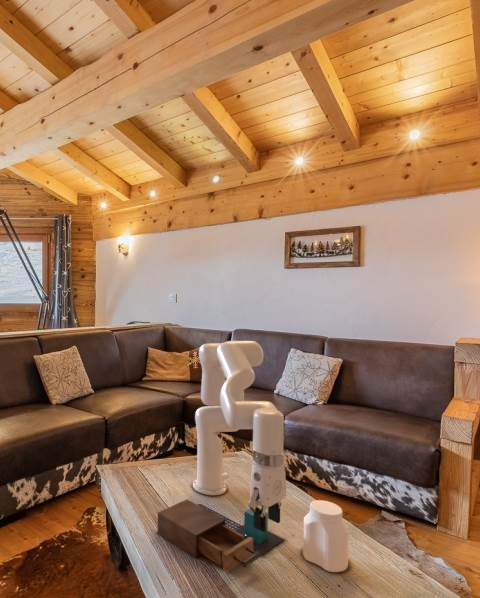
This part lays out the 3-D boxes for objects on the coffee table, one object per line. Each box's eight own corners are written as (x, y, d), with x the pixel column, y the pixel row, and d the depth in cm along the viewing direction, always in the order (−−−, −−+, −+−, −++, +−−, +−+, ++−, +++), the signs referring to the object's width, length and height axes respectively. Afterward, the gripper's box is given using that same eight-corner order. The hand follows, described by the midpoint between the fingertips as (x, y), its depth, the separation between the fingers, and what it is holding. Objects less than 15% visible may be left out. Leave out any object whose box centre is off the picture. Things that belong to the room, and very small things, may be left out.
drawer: (266, 562, 118) (266, 545, 118) (239, 581, 111) (240, 563, 110) (212, 531, 133) (212, 516, 133) (185, 546, 125) (186, 530, 125)
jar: (353, 562, 120) (354, 510, 119) (337, 576, 114) (338, 521, 113) (313, 543, 129) (314, 494, 128) (297, 555, 123) (297, 504, 122)
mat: (249, 523, 139) (249, 522, 139) (284, 540, 130) (284, 539, 130) (227, 536, 132) (227, 535, 132) (261, 555, 123) (261, 554, 123)
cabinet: (225, 540, 130) (225, 519, 130) (195, 557, 122) (195, 535, 121) (186, 518, 142) (186, 499, 142) (157, 533, 134) (157, 512, 134)
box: (253, 530, 134) (253, 506, 134) (267, 538, 130) (268, 512, 130) (244, 536, 131) (244, 511, 131) (258, 544, 127) (258, 518, 127)
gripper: (261, 471, 102) (261, 544, 103) (298, 453, 113) (297, 520, 113) (235, 460, 108) (234, 530, 109) (272, 445, 119) (272, 508, 119)
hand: (266, 524), depth 111 cm, fingers open, 5 cm apart
